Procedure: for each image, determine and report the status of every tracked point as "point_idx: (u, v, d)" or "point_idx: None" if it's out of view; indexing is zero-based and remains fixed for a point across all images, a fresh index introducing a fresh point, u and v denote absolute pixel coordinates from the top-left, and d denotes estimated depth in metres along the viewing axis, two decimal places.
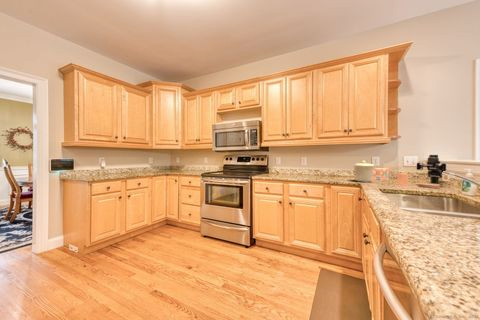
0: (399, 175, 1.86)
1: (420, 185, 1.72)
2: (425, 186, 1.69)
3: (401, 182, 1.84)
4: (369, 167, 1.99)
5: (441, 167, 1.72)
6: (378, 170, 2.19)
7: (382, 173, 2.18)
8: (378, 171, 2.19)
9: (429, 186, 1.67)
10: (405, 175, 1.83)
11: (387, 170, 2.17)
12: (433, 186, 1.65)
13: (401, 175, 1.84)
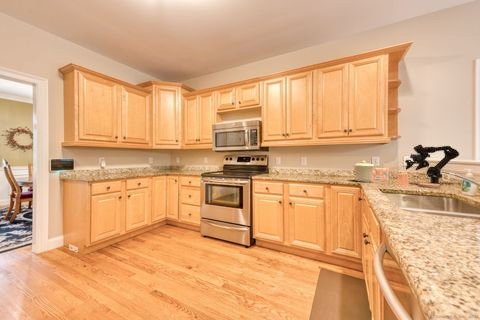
0: (399, 175, 1.86)
1: (420, 185, 1.72)
2: (425, 186, 1.69)
3: (401, 182, 1.84)
4: (369, 167, 1.99)
5: (423, 165, 1.80)
6: (378, 170, 2.19)
7: (382, 173, 2.18)
8: (378, 171, 2.19)
9: (429, 186, 1.67)
10: (405, 175, 1.83)
11: (387, 170, 2.17)
12: (433, 186, 1.65)
13: (401, 175, 1.84)
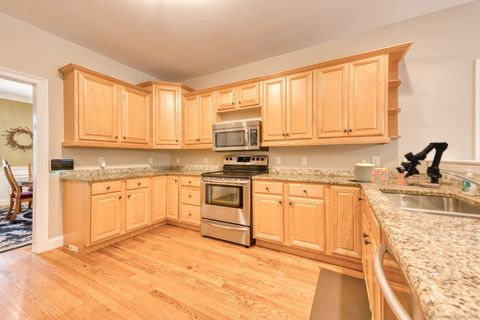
0: (399, 175, 1.86)
1: (420, 185, 1.72)
2: (425, 186, 1.69)
3: (401, 182, 1.84)
4: (369, 167, 1.99)
5: (411, 173, 1.81)
6: (377, 170, 2.19)
7: (381, 173, 2.19)
8: (377, 171, 2.19)
9: (429, 186, 1.67)
10: None
11: (386, 170, 2.17)
12: (433, 186, 1.65)
13: (401, 175, 1.84)
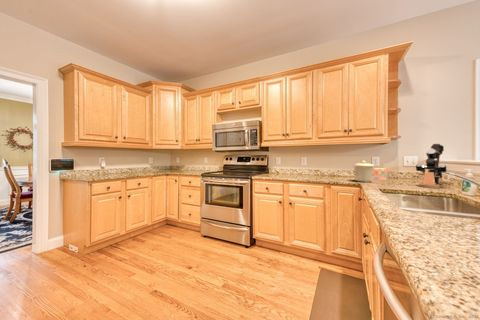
0: (428, 174, 1.70)
1: (420, 185, 1.72)
2: (425, 186, 1.69)
3: (431, 182, 1.69)
4: (369, 167, 1.99)
5: (439, 170, 1.70)
6: (376, 170, 2.20)
7: (380, 173, 2.19)
8: (376, 171, 2.20)
9: (429, 186, 1.67)
10: None
11: (385, 170, 2.18)
12: (433, 186, 1.65)
13: (431, 174, 1.68)
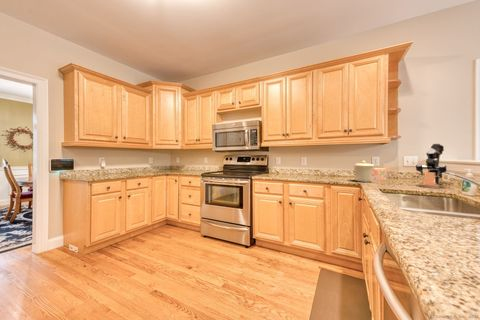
0: (428, 174, 1.70)
1: (420, 185, 1.72)
2: (425, 186, 1.69)
3: (431, 182, 1.68)
4: (369, 167, 1.99)
5: (441, 170, 1.68)
6: (376, 170, 2.20)
7: (380, 173, 2.20)
8: (376, 171, 2.20)
9: (429, 186, 1.67)
10: (434, 174, 1.69)
11: (385, 170, 2.19)
12: (433, 186, 1.65)
13: (431, 174, 1.68)
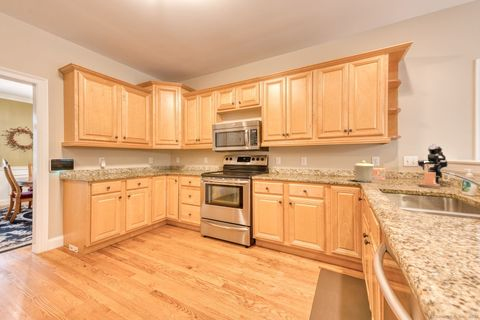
0: (428, 174, 1.70)
1: (420, 185, 1.72)
2: (425, 186, 1.69)
3: (431, 182, 1.69)
4: (369, 167, 1.99)
5: (442, 165, 1.75)
6: (375, 170, 2.21)
7: (379, 173, 2.20)
8: (375, 171, 2.21)
9: (429, 186, 1.67)
10: (434, 174, 1.69)
11: (384, 170, 2.19)
12: (433, 186, 1.65)
13: (431, 174, 1.68)
